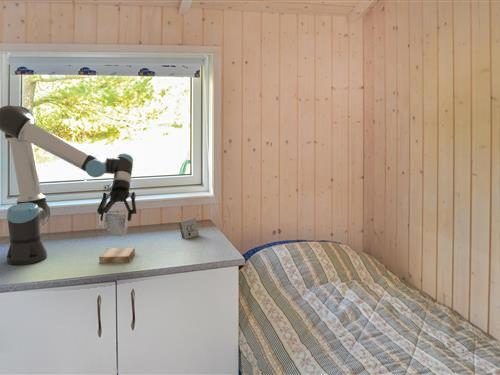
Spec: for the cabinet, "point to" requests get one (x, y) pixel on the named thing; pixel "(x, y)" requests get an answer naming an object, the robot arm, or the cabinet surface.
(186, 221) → the electrical switch
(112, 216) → the grey curved block
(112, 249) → the plinth
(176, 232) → the cabinet surface
